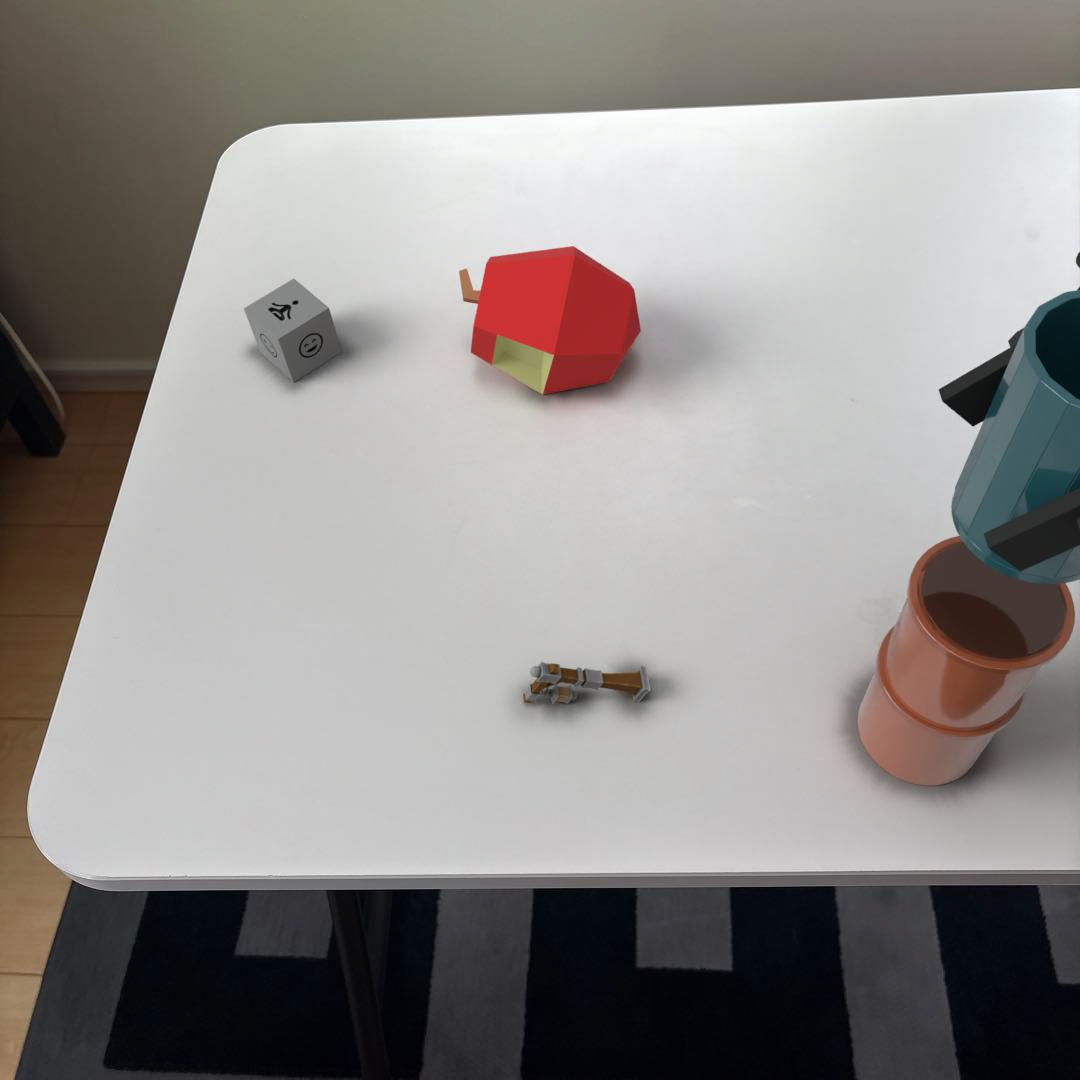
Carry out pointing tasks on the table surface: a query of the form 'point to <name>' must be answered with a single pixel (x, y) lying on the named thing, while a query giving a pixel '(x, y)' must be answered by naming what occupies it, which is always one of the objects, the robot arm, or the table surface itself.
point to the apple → (552, 318)
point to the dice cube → (293, 329)
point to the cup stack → (957, 663)
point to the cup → (1028, 441)
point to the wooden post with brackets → (583, 682)
